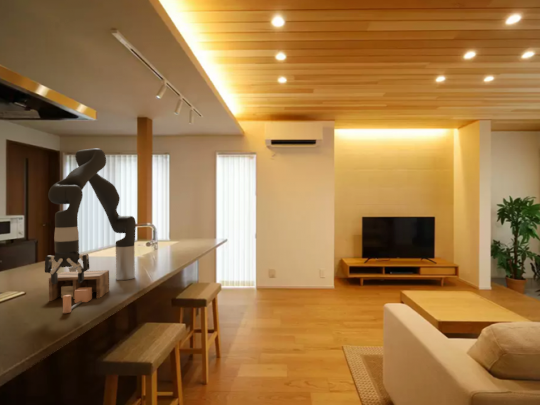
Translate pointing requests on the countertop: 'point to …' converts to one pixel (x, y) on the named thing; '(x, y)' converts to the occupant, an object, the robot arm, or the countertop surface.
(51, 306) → the countertop surface
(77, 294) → the tethered block
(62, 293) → the maple block
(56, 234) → the robot arm
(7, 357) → the countertop surface
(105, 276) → the walnut shelf
